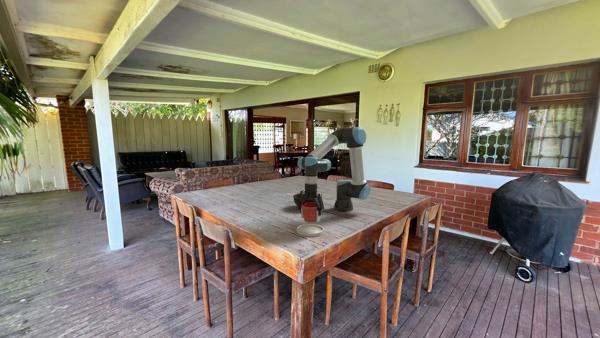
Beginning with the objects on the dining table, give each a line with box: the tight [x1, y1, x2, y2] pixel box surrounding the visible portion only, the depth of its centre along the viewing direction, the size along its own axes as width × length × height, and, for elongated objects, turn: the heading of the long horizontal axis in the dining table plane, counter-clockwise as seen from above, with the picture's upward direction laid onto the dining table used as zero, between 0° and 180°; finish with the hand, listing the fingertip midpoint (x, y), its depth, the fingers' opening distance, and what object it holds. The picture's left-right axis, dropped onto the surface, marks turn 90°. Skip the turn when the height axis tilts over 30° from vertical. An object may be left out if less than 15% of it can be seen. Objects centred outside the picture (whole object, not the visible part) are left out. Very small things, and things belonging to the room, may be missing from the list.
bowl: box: [292, 192, 319, 208], centre depth 208 cm, size 22×22×10 cm
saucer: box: [296, 223, 325, 238], centre depth 158 cm, size 17×17×2 cm
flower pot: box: [302, 203, 318, 223], centre depth 157 cm, size 11×11×10 cm
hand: (310, 219), depth 157 cm, fingers closed on flower pot, 10 cm apart
